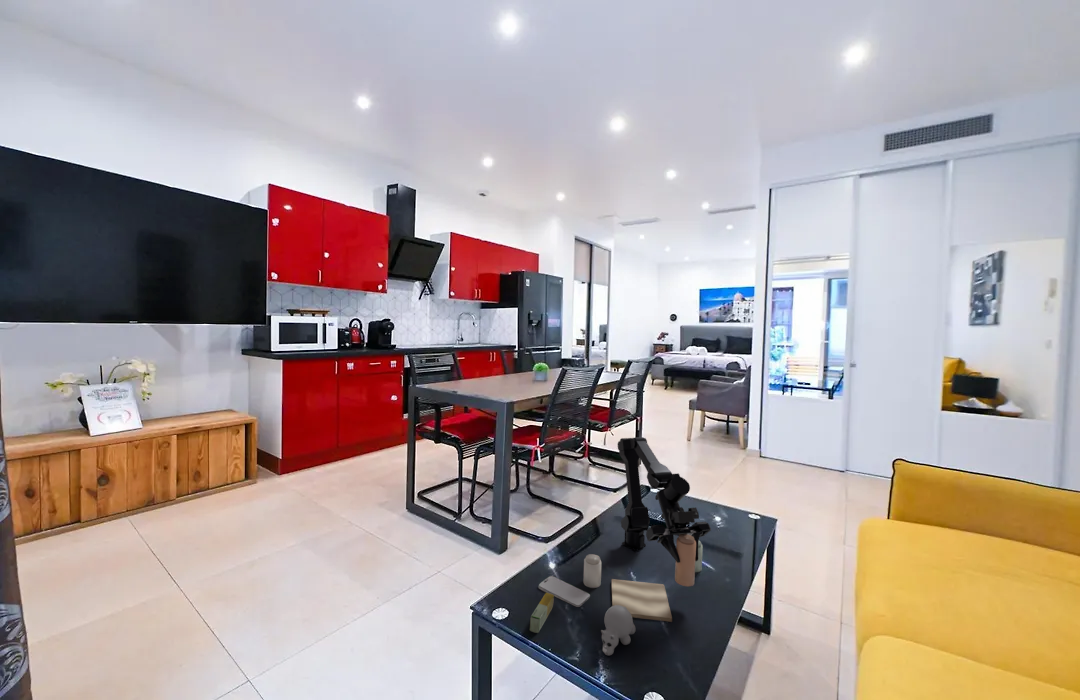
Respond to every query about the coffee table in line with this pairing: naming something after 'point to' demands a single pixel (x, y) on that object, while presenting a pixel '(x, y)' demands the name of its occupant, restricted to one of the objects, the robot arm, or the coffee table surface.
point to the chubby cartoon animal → (617, 628)
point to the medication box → (541, 612)
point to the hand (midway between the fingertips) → (688, 561)
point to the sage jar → (699, 558)
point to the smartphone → (564, 591)
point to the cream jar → (592, 571)
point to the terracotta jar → (685, 560)
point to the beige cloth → (642, 599)
